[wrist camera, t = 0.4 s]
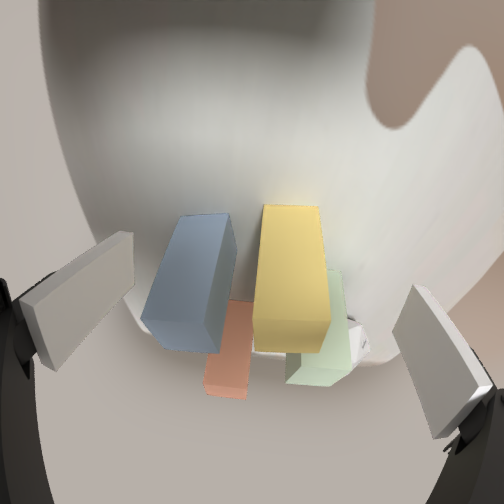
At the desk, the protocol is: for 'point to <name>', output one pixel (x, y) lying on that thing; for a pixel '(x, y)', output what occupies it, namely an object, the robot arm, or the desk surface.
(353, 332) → the die
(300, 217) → the mustard pillar
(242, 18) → the desk surface
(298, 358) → the sage pillar
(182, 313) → the slate pillar
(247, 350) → the terracotta pillar
